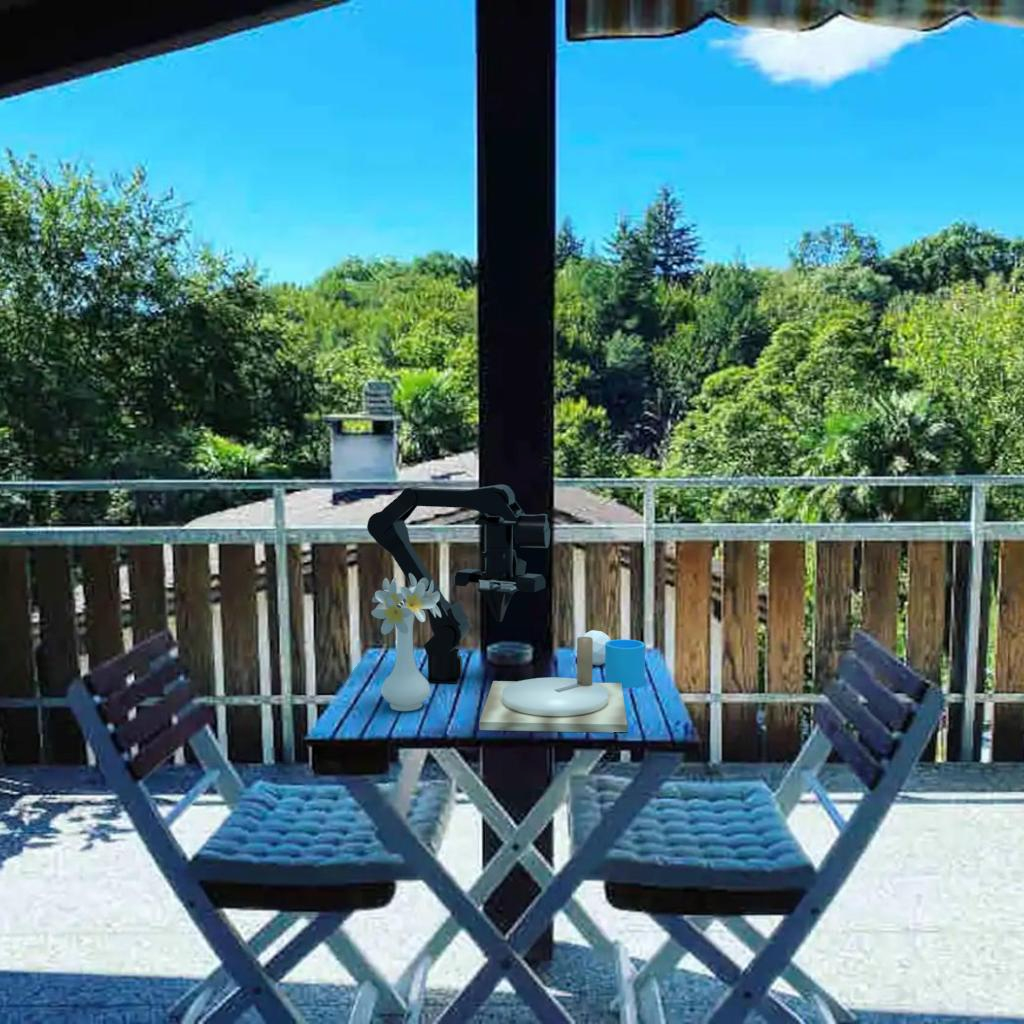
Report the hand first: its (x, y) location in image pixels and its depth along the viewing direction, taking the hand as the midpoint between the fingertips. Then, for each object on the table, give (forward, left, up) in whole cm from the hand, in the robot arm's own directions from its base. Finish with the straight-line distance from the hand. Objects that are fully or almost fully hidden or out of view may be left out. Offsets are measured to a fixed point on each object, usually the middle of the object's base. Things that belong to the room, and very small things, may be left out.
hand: (499, 621), depth 200 cm
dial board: (+12, -17, -13) cm, 25 cm away
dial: (+12, -17, -11) cm, 24 cm away
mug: (+26, +4, -13) cm, 29 cm away
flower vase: (-16, -18, -13) cm, 28 cm away
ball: (+20, +16, -13) cm, 29 cm away
